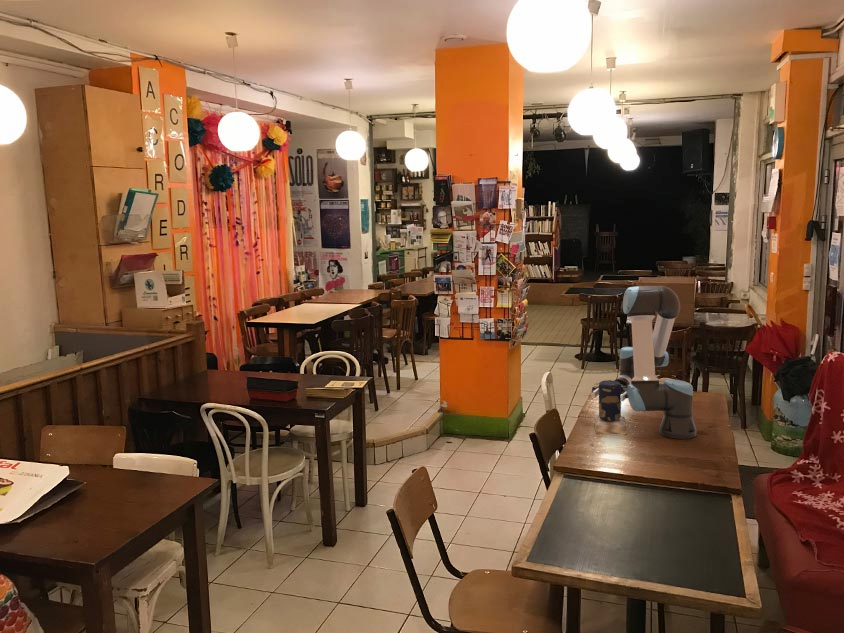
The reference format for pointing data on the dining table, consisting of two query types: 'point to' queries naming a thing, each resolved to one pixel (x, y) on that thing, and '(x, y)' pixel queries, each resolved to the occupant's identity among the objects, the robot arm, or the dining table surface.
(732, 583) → the dining table surface
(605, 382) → the canister
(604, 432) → the stand
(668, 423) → the robot arm
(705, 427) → the dining table surface
